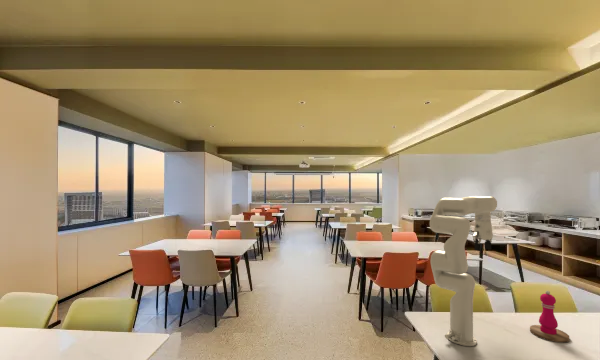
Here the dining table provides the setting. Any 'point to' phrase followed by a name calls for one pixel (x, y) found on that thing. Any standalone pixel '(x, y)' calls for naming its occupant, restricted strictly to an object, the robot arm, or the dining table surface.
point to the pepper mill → (548, 314)
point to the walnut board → (558, 337)
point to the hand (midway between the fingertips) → (482, 249)
